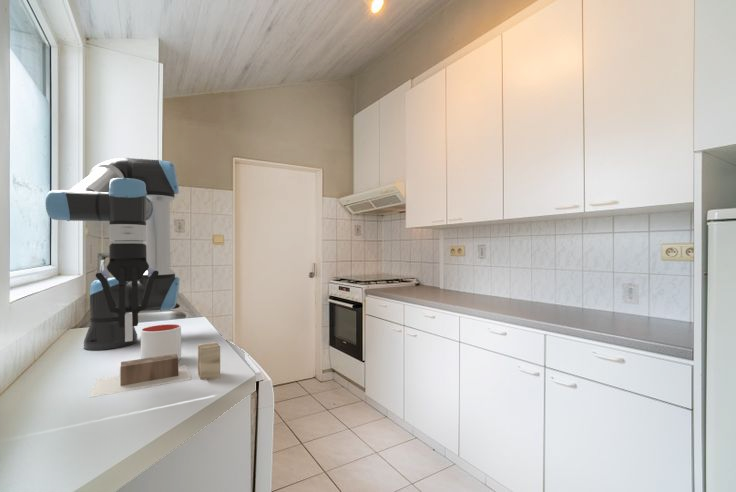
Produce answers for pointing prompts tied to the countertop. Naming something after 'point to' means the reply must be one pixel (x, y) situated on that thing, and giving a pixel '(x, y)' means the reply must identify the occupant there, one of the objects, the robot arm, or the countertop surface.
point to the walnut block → (148, 369)
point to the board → (113, 383)
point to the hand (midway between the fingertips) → (128, 340)
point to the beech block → (209, 361)
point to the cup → (161, 341)
